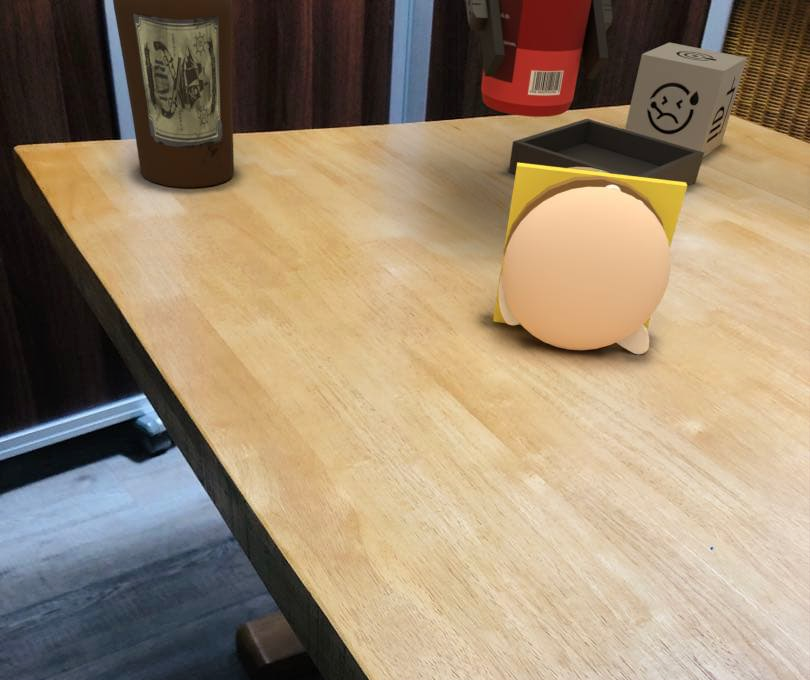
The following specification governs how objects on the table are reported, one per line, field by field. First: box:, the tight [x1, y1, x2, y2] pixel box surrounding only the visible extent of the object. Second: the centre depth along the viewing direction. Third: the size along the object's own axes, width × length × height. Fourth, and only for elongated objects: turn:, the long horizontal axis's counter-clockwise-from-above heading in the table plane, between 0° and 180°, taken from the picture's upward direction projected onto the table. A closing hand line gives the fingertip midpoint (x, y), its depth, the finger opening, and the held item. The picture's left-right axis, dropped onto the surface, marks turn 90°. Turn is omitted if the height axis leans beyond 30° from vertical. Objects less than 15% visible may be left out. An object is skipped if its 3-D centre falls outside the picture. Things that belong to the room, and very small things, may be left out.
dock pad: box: [508, 118, 704, 187], centre depth 97 cm, size 16×16×3 cm
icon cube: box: [624, 42, 748, 158], centre depth 108 cm, size 10×10×10 cm
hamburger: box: [492, 163, 688, 355], centre depth 64 cm, size 12×8×12 cm
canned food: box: [480, 0, 591, 118], centre depth 69 cm, size 8×8×11 cm
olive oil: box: [112, 0, 235, 189], centre depth 81 cm, size 11×11×25 cm
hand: (546, 67), depth 68 cm, fingers closed on canned food, 8 cm apart
